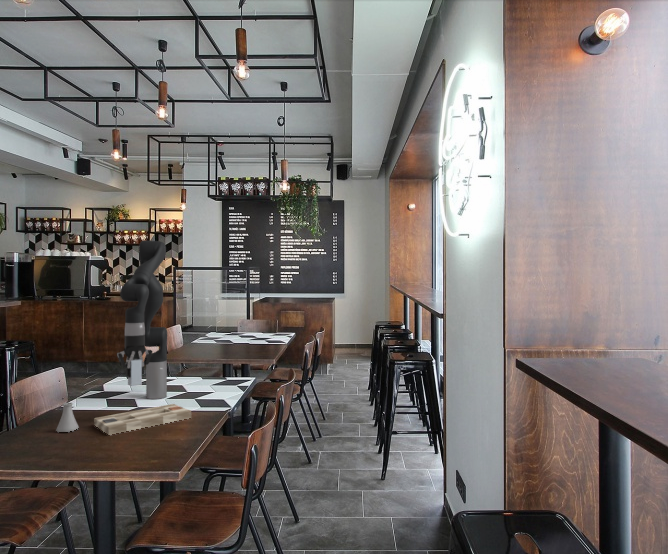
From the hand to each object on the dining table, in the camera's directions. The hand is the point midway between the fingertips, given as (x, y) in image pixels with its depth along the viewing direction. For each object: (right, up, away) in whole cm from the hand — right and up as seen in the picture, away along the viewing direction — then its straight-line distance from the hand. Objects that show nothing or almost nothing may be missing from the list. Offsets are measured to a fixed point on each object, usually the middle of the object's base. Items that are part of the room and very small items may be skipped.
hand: (134, 376), depth 198 cm
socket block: (+5, -17, -4) cm, 18 cm away
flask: (-19, -17, -15) cm, 30 cm away
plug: (0, -3, 0) cm, 3 cm away
